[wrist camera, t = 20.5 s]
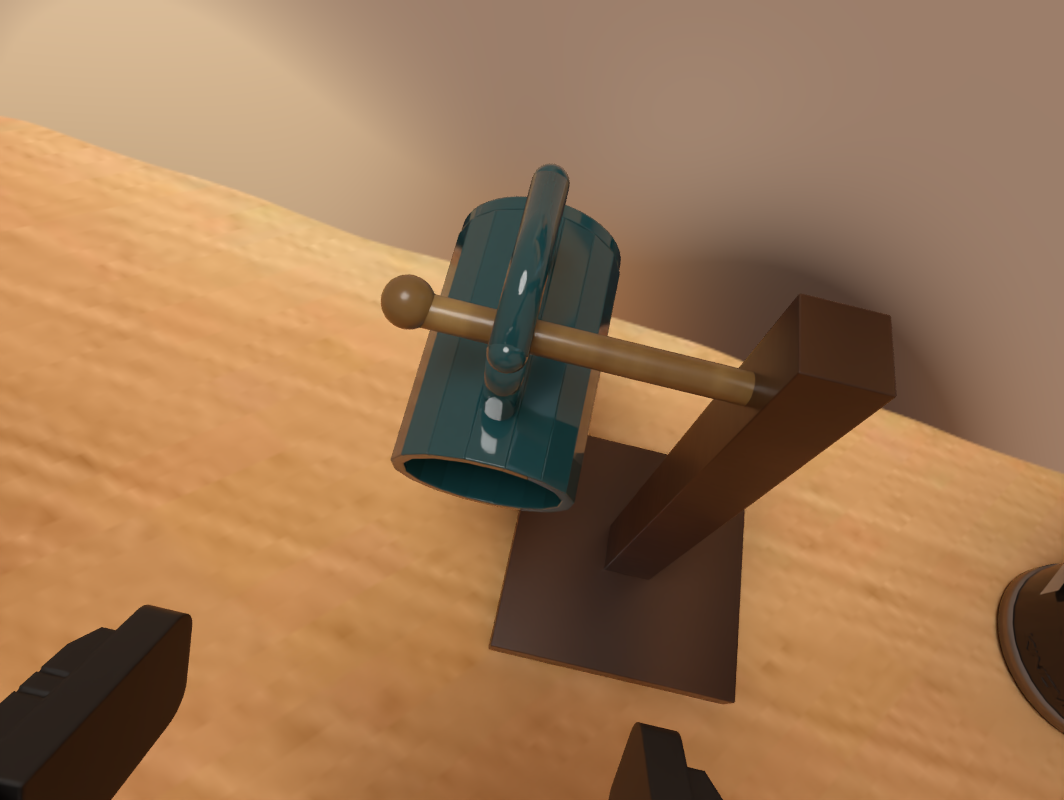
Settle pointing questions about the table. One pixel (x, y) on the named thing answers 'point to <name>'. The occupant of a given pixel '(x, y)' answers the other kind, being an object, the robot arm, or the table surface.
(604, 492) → the mug stand
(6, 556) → the table surface
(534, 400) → the mug
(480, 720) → the table surface
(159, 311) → the table surface
